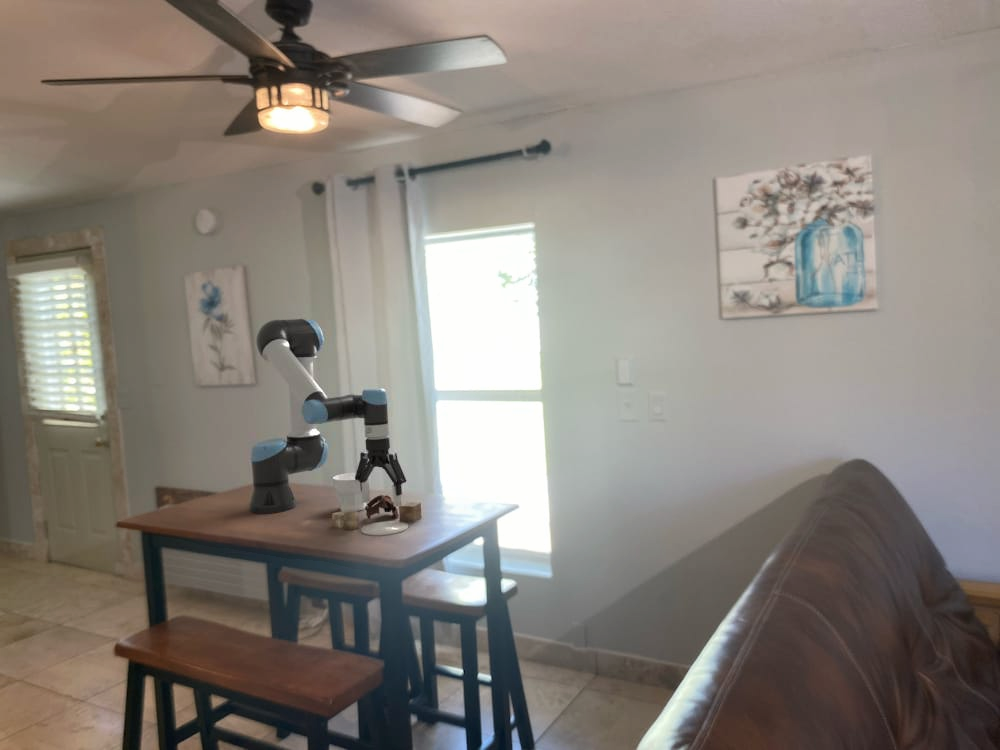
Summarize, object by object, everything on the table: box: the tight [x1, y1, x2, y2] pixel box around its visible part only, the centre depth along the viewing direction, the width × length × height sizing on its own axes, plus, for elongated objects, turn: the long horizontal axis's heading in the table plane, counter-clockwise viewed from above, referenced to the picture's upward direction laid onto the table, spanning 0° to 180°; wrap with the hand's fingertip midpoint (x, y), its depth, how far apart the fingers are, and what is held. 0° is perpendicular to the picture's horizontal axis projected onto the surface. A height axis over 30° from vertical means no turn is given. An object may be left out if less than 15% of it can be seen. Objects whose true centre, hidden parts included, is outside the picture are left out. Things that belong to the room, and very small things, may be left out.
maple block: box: [332, 510, 351, 529], centre depth 225 cm, size 4×6×4 cm, turn 135°
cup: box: [332, 472, 371, 512], centre depth 245 cm, size 12×12×11 cm
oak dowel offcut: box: [344, 510, 359, 531], centre depth 220 cm, size 4×4×5 cm
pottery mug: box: [364, 494, 400, 520], centre depth 232 cm, size 12×10×8 cm
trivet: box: [360, 520, 409, 537], centre depth 218 cm, size 14×14×1 cm
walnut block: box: [398, 501, 422, 523], centre depth 227 cm, size 5×5×5 cm
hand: (381, 503), depth 232 cm, fingers open, 13 cm apart
